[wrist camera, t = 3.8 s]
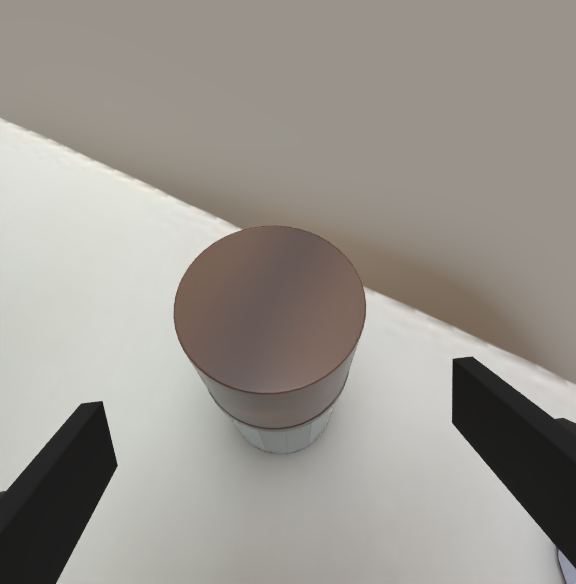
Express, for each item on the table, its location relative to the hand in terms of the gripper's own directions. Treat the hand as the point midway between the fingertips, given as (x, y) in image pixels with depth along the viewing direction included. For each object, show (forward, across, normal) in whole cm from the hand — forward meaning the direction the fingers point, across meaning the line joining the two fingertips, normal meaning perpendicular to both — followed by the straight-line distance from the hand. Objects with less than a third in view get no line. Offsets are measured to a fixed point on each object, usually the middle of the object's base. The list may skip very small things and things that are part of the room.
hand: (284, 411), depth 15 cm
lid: (+10, 0, -3) cm, 11 cm away
